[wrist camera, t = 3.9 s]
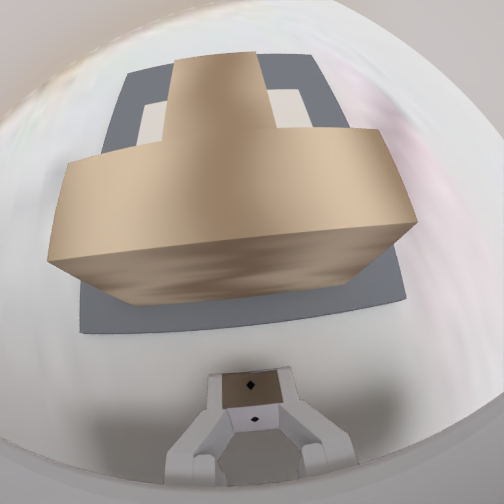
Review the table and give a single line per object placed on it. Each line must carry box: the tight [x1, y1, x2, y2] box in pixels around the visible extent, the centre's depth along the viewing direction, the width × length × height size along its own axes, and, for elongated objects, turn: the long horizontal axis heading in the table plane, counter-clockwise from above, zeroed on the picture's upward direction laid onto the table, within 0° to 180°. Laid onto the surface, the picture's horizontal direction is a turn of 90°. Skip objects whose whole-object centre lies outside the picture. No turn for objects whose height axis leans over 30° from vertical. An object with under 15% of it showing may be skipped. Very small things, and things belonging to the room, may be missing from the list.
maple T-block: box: [47, 52, 418, 306], centre depth 13 cm, size 12×10×8 cm
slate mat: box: [80, 54, 406, 334], centre depth 19 cm, size 20×26×1 cm
